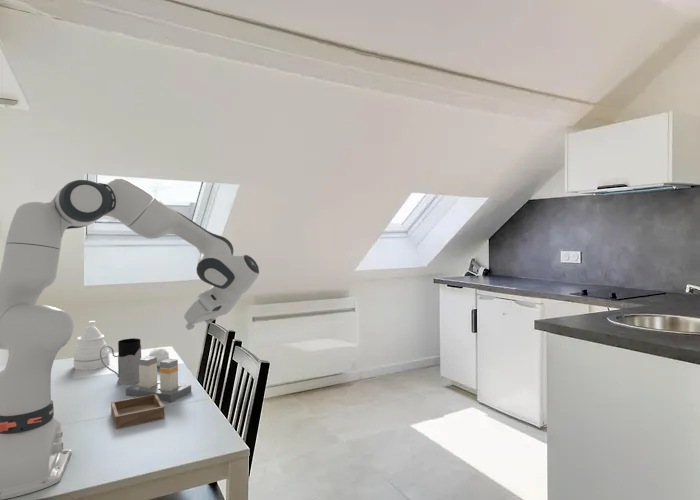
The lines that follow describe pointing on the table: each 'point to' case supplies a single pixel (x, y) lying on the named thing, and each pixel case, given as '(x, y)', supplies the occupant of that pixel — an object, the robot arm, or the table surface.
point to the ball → (159, 355)
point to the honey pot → (91, 349)
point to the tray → (137, 410)
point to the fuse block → (159, 392)
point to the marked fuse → (169, 375)
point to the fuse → (148, 372)
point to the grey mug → (127, 360)
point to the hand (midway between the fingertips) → (198, 324)
